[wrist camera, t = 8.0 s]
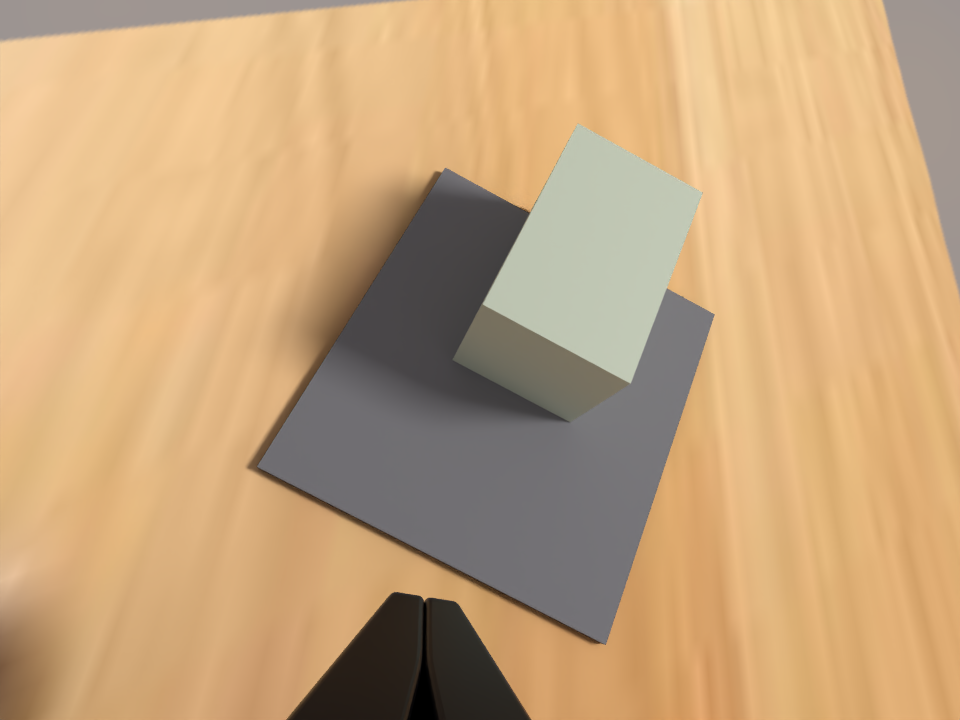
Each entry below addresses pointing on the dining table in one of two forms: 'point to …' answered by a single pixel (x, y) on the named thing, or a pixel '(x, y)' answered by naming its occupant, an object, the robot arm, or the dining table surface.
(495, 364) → the sage block
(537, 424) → the rubber mat
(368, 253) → the dining table surface
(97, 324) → the dining table surface
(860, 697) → the dining table surface
